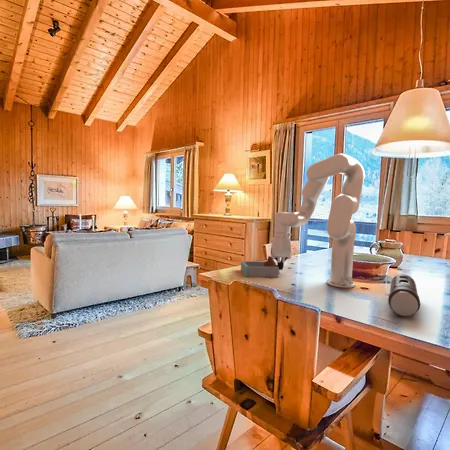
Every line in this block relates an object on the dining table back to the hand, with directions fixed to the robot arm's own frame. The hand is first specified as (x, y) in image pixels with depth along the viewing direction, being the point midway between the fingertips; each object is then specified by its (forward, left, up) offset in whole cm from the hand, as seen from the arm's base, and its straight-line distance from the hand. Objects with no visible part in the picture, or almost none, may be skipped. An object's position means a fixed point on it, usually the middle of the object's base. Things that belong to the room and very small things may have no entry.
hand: (280, 269), depth 167 cm
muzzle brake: (-54, -31, -3) cm, 62 cm away
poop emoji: (-1, +6, -2) cm, 6 cm away
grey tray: (0, +12, -2) cm, 12 cm away
